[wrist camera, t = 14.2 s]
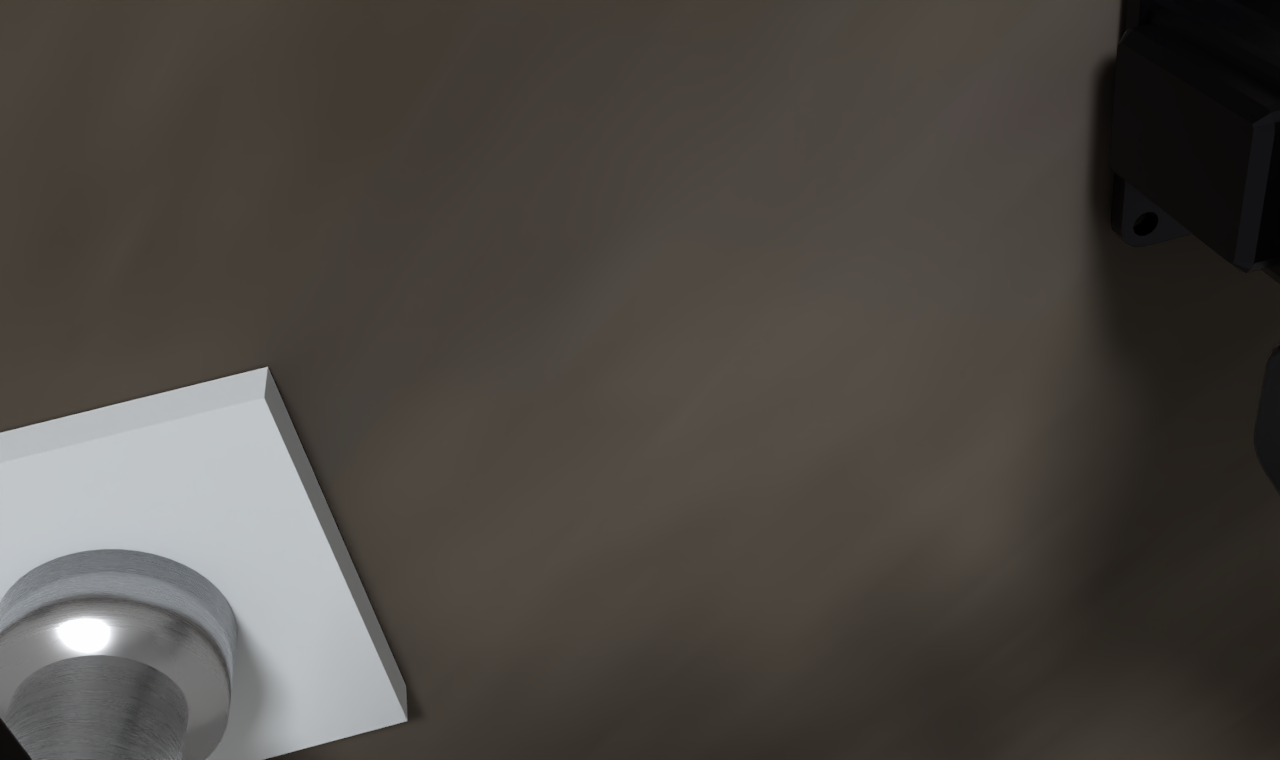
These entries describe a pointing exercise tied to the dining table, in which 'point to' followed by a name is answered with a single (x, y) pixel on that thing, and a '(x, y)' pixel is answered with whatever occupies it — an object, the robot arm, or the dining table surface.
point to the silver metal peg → (116, 659)
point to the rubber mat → (216, 546)
